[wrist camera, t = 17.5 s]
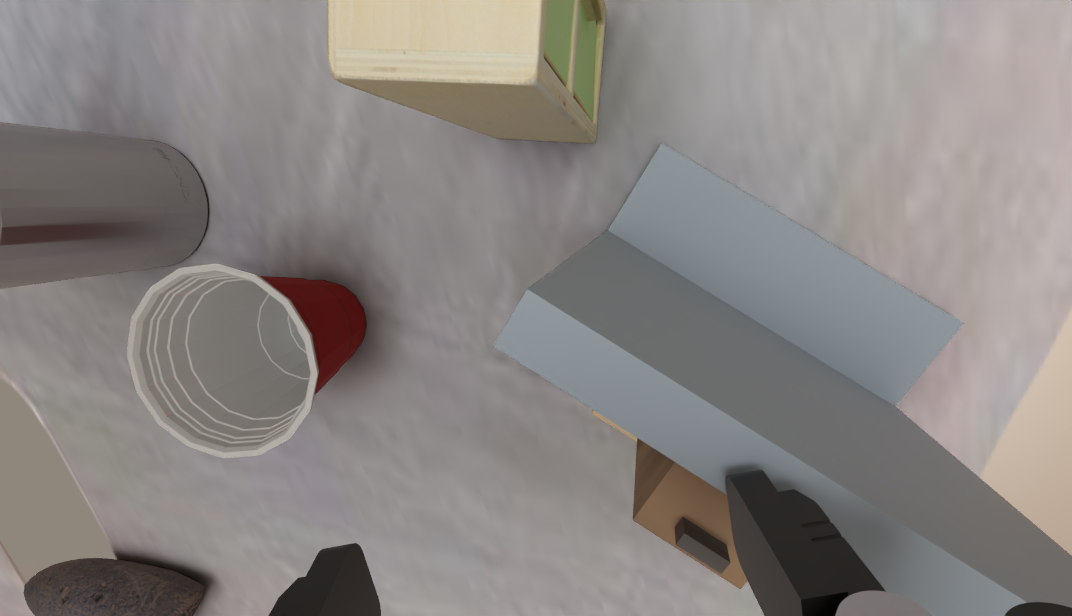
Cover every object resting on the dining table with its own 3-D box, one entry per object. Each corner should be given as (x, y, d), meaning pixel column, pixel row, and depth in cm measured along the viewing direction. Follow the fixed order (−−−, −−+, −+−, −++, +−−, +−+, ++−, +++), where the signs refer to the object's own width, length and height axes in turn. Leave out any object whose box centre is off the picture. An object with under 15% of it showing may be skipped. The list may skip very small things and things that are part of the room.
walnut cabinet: (708, 462, 35) (741, 613, 22) (636, 417, 35) (629, 540, 23) (770, 379, 34) (844, 490, 21) (695, 333, 34) (721, 414, 21)
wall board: (793, 509, 39) (1058, 1084, 14) (536, 346, 40) (344, 596, 15) (950, 317, 35) (1727, 625, 10) (661, 145, 36) (685, 22, 11)
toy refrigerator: (609, 148, 37) (558, 86, 17) (495, 142, 38) (319, 77, 18) (621, 11, 35) (582, -242, 15) (502, 10, 37) (317, -227, 16)
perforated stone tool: (71, 578, 52) (-14, 634, 45) (71, 526, 51) (-16, 575, 44) (221, 625, 50) (155, 692, 43) (224, 571, 49) (156, 631, 42)
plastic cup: (401, 401, 43) (308, 476, 31) (267, 382, 45) (133, 447, 33) (405, 252, 41) (307, 273, 29) (264, 239, 42) (119, 255, 31)
